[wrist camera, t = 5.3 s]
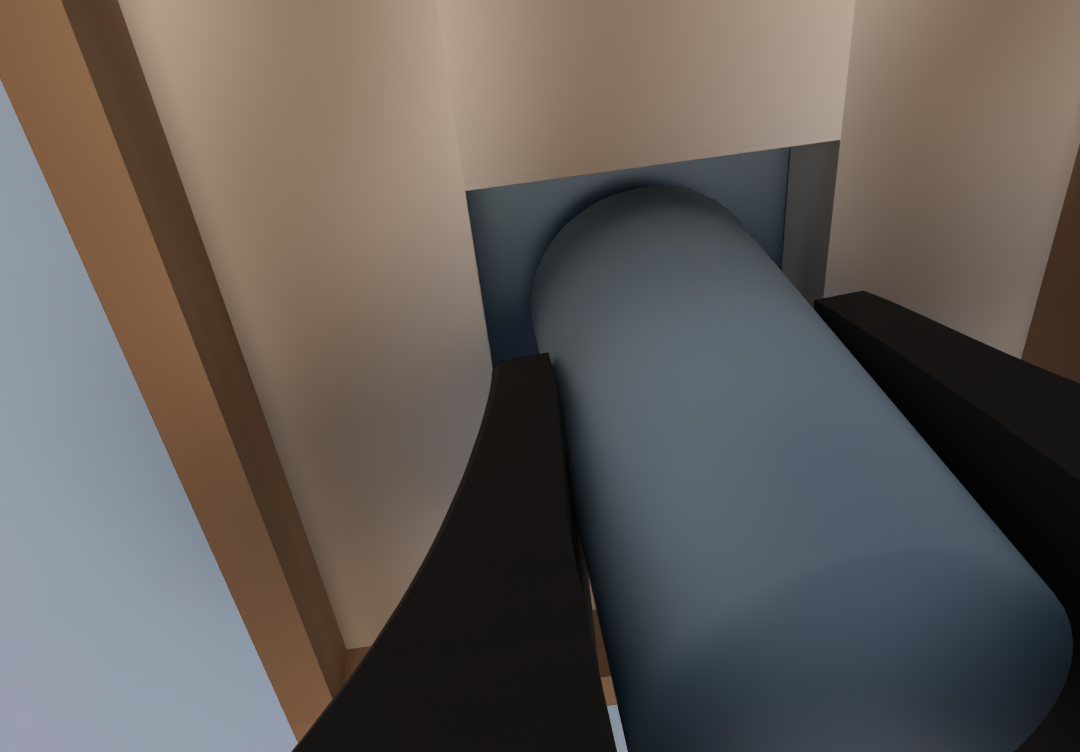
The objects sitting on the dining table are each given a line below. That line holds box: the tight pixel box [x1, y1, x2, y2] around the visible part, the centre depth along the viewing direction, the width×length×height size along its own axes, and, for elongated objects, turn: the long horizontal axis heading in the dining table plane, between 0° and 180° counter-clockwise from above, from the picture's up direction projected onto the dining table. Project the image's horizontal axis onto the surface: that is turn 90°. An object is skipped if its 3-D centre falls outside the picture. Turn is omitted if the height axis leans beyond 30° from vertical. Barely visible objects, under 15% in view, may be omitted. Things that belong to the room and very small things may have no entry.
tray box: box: [0, 0, 1080, 743], centre depth 12 cm, size 13×13×3 cm
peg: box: [530, 186, 1073, 752], centre depth 9 cm, size 3×3×7 cm
